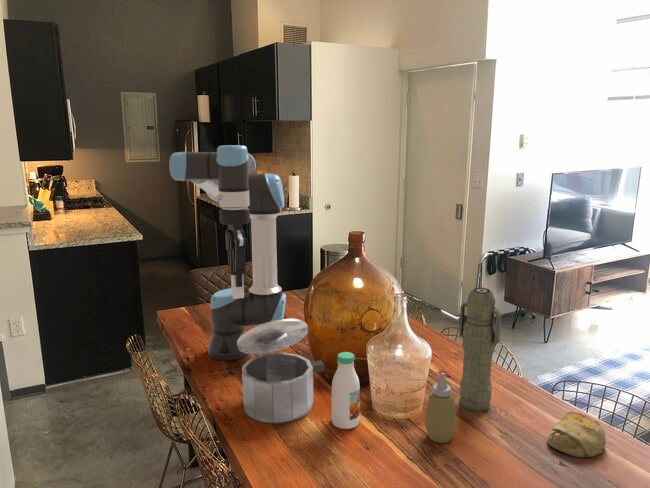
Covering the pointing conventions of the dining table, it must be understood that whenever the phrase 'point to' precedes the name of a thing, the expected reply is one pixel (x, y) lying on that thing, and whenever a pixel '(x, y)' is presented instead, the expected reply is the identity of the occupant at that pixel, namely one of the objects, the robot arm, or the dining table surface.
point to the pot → (278, 387)
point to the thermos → (478, 348)
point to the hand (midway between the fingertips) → (238, 296)
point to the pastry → (577, 436)
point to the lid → (272, 336)
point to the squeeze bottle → (441, 412)
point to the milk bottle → (345, 393)
